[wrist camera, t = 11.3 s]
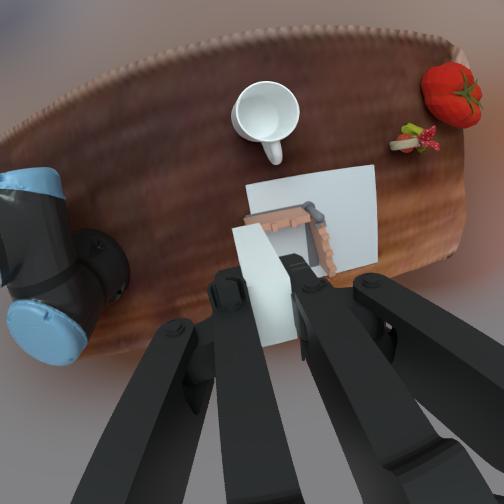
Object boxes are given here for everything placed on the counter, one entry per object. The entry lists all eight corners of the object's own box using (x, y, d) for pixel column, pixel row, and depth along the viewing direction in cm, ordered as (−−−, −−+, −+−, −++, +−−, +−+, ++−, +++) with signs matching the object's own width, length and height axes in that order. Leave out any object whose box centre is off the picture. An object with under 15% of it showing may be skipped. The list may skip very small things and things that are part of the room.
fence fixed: (244, 224, 49) (249, 237, 43) (243, 217, 49) (247, 229, 42) (311, 210, 50) (325, 221, 43) (310, 203, 49) (325, 213, 43)
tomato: (454, 132, 47) (492, 137, 36) (409, 115, 45) (449, 114, 34) (455, 79, 42) (491, 76, 31) (410, 56, 40) (448, 47, 29)
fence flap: (305, 216, 49) (317, 226, 44) (314, 212, 49) (328, 222, 44) (318, 266, 53) (330, 281, 48) (327, 262, 53) (340, 277, 48)
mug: (292, 156, 46) (313, 160, 36) (245, 169, 46) (254, 176, 36) (273, 88, 41) (289, 75, 32) (224, 100, 41) (227, 89, 31)
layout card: (259, 290, 54) (260, 291, 54) (239, 186, 47) (239, 186, 46) (376, 261, 56) (377, 262, 55) (372, 164, 48) (374, 164, 47)
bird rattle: (389, 159, 50) (428, 149, 46) (402, 173, 41) (448, 161, 37) (380, 129, 48) (420, 119, 44) (392, 137, 38) (440, 125, 35)
